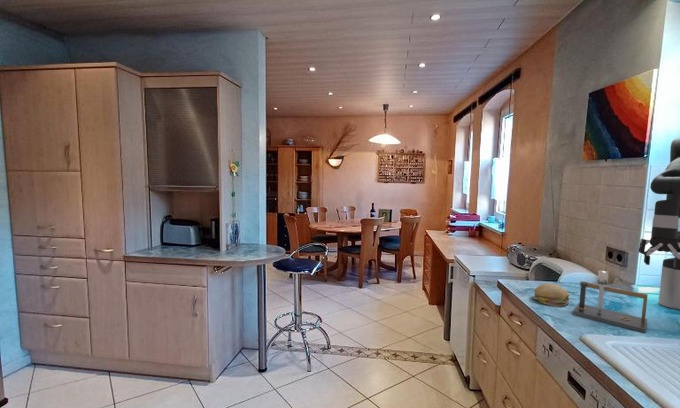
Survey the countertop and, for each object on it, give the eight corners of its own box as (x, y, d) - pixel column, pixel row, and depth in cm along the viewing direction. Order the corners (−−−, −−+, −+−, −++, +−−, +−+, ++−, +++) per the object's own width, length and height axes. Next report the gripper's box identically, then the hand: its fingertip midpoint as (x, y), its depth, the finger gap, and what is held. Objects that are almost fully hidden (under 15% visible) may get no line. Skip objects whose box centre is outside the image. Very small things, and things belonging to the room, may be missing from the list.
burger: (575, 308, 144) (576, 290, 143) (538, 305, 147) (539, 287, 146) (561, 297, 157) (563, 281, 156) (528, 295, 159) (529, 278, 159)
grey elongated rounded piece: (596, 308, 139) (599, 269, 138) (605, 310, 137) (609, 270, 136) (594, 311, 136) (597, 271, 134) (604, 314, 134) (607, 273, 132)
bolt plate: (578, 306, 146) (580, 279, 145) (646, 322, 131) (650, 292, 130) (572, 314, 138) (575, 285, 136) (644, 333, 122) (648, 300, 121)
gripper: (684, 227, 135) (680, 267, 136) (639, 224, 142) (635, 262, 143) (693, 229, 129) (689, 270, 130) (645, 225, 135) (641, 265, 136)
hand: (661, 266), depth 136 cm, fingers open, 8 cm apart
